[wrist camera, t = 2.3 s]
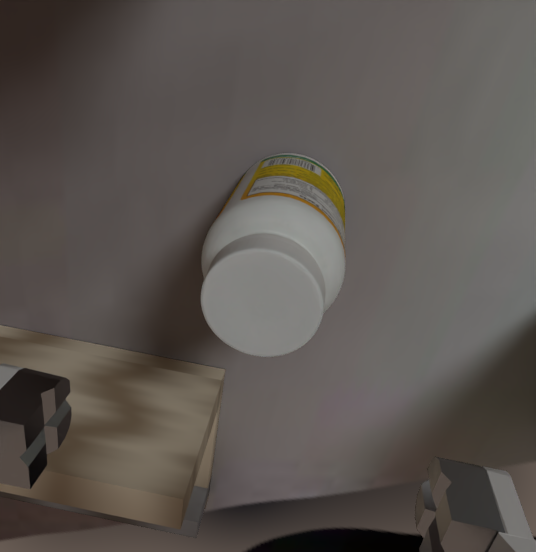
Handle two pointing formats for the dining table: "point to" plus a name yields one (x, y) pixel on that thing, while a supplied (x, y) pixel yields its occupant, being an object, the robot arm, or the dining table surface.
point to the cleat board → (125, 432)
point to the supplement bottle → (275, 256)
